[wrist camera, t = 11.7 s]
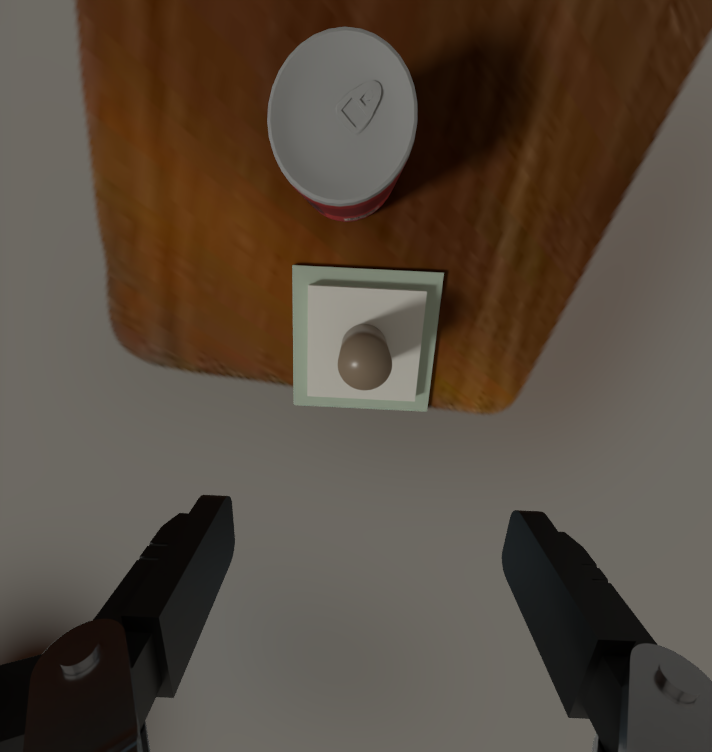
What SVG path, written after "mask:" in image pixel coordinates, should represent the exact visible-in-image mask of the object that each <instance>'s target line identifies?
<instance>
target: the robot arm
mask: <svg viewBox="0 0 712 752" xmlns="http://www.w3.org/2000/svg"><path fill="white" fill-rule="evenodd" d="M234 537H235V536H234V523H233V511H232V501H231V498H230V497H229V496H215V495H202V496H201V497H200V498H199V499H198V500H197V502H196V504H195V505H194V507H193V508H192V509H191V511H190V512H189V514H186V513H179V514H178V515H177V516H175V517H174V518H172V519H171V520H170V521H168V522H167V523H166V524H164V525H163V526H162V527H161V528H160V530H159V531H158V532H157V534H156V535H155V536H154V538H153V539H152V541H151V542H150V545H149V546H147V547H146V549H145V550H144V551H143V553H142V554H141V556H140V559H139V560H137V561H136V562H135V564H134V565H133V567H132V568H131V569H130V571H129V572H128V573H127V575H126V576H125V577H124V579H123V580H122V582H121V583H120V584H119V586H118V587H117V588H116V590H115V591H114V593H113V594H112V595H111V596H110V598H109V599H108V601H107V602H106V603H105V605H104V606H103V607H102V609H101V610H100V612H99V613H98V614H97V616H96V617H95V618H94V619H93V620H92V621H88V622H86V623H83V624H81V625H79V626H76V627H75V628H73V629H71V630H69V631H68V632H66V633H65V634H63V635H62V636H61V637H59V638H58V639H57V640H56V641H55V642H53V643H52V644H51V645H50V646H49V647H48V649H46V650H45V652H44V653H43V654H40V655H37V656H34V657H30V658H26V659H22V660H18V661H15V662H11V663H7V664H3V665H0V752H150V748H149V741H148V734H147V727H146V721H145V720H146V717H147V715H148V713H149V711H150V709H151V707H152V704H153V702H154V700H155V698H156V697H169V698H173V697H174V696H175V693H176V691H177V689H178V686H179V684H180V682H181V679H182V677H183V674H184V672H185V670H186V667H187V665H188V663H189V660H190V658H191V656H192V653H193V651H194V648H195V646H196V644H197V641H198V639H199V637H200V634H201V632H202V629H203V627H204V625H205V622H206V620H207V618H208V615H209V612H210V610H211V608H212V606H213V603H214V601H215V599H216V596H217V594H218V592H219V589H220V587H221V584H222V582H223V580H224V577H225V575H226V573H227V570H228V568H229V566H230V563H231V560H232V557H233V551H234V545H235V538H234ZM502 565H503V571H504V574H505V577H506V579H507V582H508V584H509V586H510V588H511V591H512V593H513V595H514V597H515V599H516V602H517V604H518V606H519V608H520V611H521V613H522V615H523V617H524V619H525V622H526V624H527V626H528V628H529V631H530V633H531V635H532V637H533V640H534V642H535V644H536V646H537V648H538V651H539V652H540V655H541V657H542V659H543V662H544V664H545V666H546V668H547V671H548V673H549V675H550V677H551V680H552V682H553V684H554V686H555V689H556V691H557V693H558V695H559V697H560V700H561V702H562V704H563V706H564V709H565V711H566V713H567V715H568V717H569V718H586V719H590V721H591V723H592V725H593V727H594V729H595V731H596V735H595V738H594V741H593V748H592V752H712V681H711V680H710V679H709V678H708V677H707V676H706V675H705V674H704V673H703V672H702V671H701V670H700V669H699V668H698V667H696V666H695V665H694V664H692V663H691V662H690V661H688V660H687V659H686V658H684V657H683V656H681V655H679V654H677V653H676V652H674V651H672V650H670V649H667V648H665V647H662V646H659V645H657V643H656V642H655V641H654V640H653V638H652V637H651V636H650V634H649V633H648V632H647V631H646V629H645V628H644V626H643V625H642V624H641V623H640V621H639V620H638V619H637V617H636V616H635V615H634V613H633V612H632V611H631V609H630V608H629V607H628V605H627V604H626V603H625V602H624V600H623V599H622V598H621V596H620V595H619V594H618V592H617V591H616V590H615V588H614V587H613V586H612V584H611V583H608V579H607V578H606V577H605V575H604V574H603V573H602V571H601V570H600V569H599V568H597V566H596V563H595V562H594V561H593V559H592V558H591V557H590V556H589V554H588V553H587V551H586V550H585V549H584V548H583V547H582V546H581V545H580V544H578V543H577V542H576V541H575V540H574V539H572V538H571V537H570V536H569V535H567V534H566V533H565V532H558V531H557V529H556V528H555V527H554V525H553V524H552V522H551V521H550V520H549V518H548V517H547V516H546V514H545V513H543V512H539V511H518V510H515V511H513V512H512V514H511V517H510V521H509V525H508V529H507V534H506V538H505V543H504V547H503V552H502Z"/></svg>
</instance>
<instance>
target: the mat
mask: <svg viewBox="0 0 712 752" xmlns="http://www.w3.org/2000/svg"><path fill="white" fill-rule="evenodd" d="M292 277H293V385H294V405H304V406H324V407H345V408H346V407H347V408H365V409H386V410H388V409H389V410H406V411H427V408H428V400H429V392H430V383H431V375H432V367H433V359H434V351H435V342H436V334H437V326H438V318H439V310H440V301H441V293H442V285H443V277H444V273H441V272H421V271H401V270H381V269H361V268H341V267H321V266H301V265H292ZM309 284H313V285H333V286H352V287H371V288H391V289H410V290H425V291H427V296H426V305H425V314H424V323H423V333H422V342H421V351H420V360H419V369H418V378H417V387H416V396H415V402H412V401H393V400H373V399H353V398H333V397H313V396H307V352H308V285H309Z"/></svg>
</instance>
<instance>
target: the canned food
mask: <svg viewBox="0 0 712 752" xmlns="http://www.w3.org/2000/svg"><path fill="white" fill-rule="evenodd" d="M267 123H268V132H269V139H270V143H271V146H272V150H273V153H274V156H275V159H276V161H277V163H278V165H279V167H280V169H281V171H282V172H283V174H284V175H285V177H286V178H287V179H288V181H289V182H290V183H291V184H292V186H293V187H294V188H295V189H296V190H297V191H298V192H299V193H300V194H301V195H302V196H303V197H304V198H305V199H306V200H307V201H308V202H309V203H310V204H311V205H312V206H313V207H314V208H315V209H316V210H317V211H319V212H320V213H321V214H323V215H325V216H326V217H328V218H331V219H334V220H337V221H345V222H348V221H356V220H359V219H363V218H365V217H367V216H369V215H371V214H372V213H374V212H375V211H376V210H377V209H379V208H380V207H381V206H382V205H383V204H384V202H385V201H386V200H387V199H388V197H389V195H390V193H391V192H392V190H393V188H394V186H395V184H396V182H397V180H398V178H399V176H400V174H401V172H402V170H403V168H404V166H405V165H406V163H407V160H408V158H409V155H410V152H411V149H412V146H413V143H414V139H415V133H416V128H417V98H416V92H415V86H414V84H413V81H412V78H411V75H410V73H409V70H408V68H407V67H406V65H405V63H404V62H403V60H402V58H401V57H400V55H399V54H398V53H397V52H396V51H395V50H394V49H393V48H392V46H391V45H390V44H389V43H387V42H386V41H385V40H383V39H382V38H380V37H379V36H377V35H376V34H373V33H371V32H368V31H366V30H363V29H360V28H351V27H339V28H332V29H327V30H325V31H322V32H320V33H317V34H315V35H313V36H311V37H310V38H308V39H307V40H305V41H304V42H303V43H301V44H300V45H299V46H298V47H297V48H296V49H295V50H294V51H293V52H292V53H291V54H290V55H289V56H288V58H287V59H286V61H285V62H284V64H283V65H282V67H281V69H280V70H279V72H278V74H277V77H276V79H275V82H274V84H273V86H272V90H271V95H270V99H269V104H268V119H267Z"/></svg>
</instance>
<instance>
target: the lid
mask: <svg viewBox="0 0 712 752" xmlns="http://www.w3.org/2000/svg"><path fill="white" fill-rule="evenodd" d="M426 296H427V291H425V290H410V289H391V288H371V287H352V286H333V285H313V284H309V285H308V352H307V396H313V397H333V398H353V399H373V400H393V401H412V402H415V396H416V387H417V378H418V369H419V360H420V351H421V342H422V333H423V323H424V314H425V305H426Z"/></svg>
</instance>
